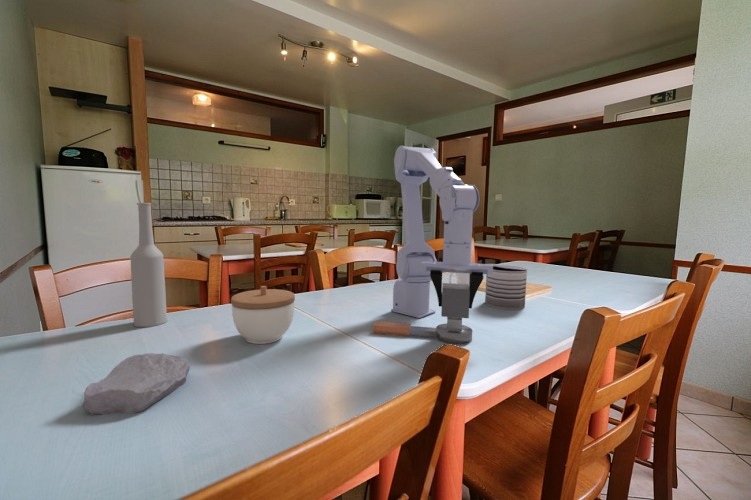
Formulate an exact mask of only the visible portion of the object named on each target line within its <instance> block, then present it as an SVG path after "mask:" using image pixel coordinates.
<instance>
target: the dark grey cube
mask: <svg viewBox="0 0 751 500" xmlns="http://www.w3.org/2000/svg"><path fill="white" fill-rule="evenodd" d="M469 299H470V288H469V285H468V284H458V283H452V282H451V283H449V282H442V307H441V313H440V314H441V317H442V318H443V317H445V318H447V317H456V318H462V319H469V318H470V316H469V315H470V308H469Z"/></svg>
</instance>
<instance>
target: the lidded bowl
mask: <svg viewBox="0 0 751 500" xmlns="http://www.w3.org/2000/svg"><path fill="white" fill-rule="evenodd" d="M295 300H296V295H295V293H294V292H292V291H290V290H285V289H277V288H273V289H272V288H267V285H261V286H260V289H253V290H246V291H242V292H238V293H236V294H234V295H232V296H231V298H230V304H231V313H232V314H231V315H232V321H233V324H234V326H235V329H236V331H237V332H238V334H239V335H240V336H242V337H243V338H244V339H245V340H246V342H247V343H250V344H254V345H266V344H271V343H275V342H278V341H280V340H281V339H282V338H283V336H284V335H285V334H286V333H287V331H288V330H289V329H290V327H291V325H292V323H293V319H294V314H295Z"/></svg>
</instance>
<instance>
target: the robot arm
mask: <svg viewBox="0 0 751 500" xmlns="http://www.w3.org/2000/svg"><path fill="white" fill-rule="evenodd" d="M394 154H395V155H394V159H393V166H394V175H395V180H396V181H397V182H398V183H400V188H401V189H400V190H401V197H402V198H401V201H402V209H403V210H402V211H403V220H404V222H403V223H404V232H405V234H404V235H405V244H404V245H403V246H402V247H401V248H400V249H399V250H398V251H397V254H396V263H395V267H396V273H397V276H398V278H397V279H396V281H395V282H394V285H393V292H392V294H393V295H392V308H391V309H390V311H391V312H394V313H397V314H401V315H406V316H410V317H413V318H418V319H421V318H424V317H426V316H429V315H431V314H434V313H436V310H435V309H433V308H432V309H430V298H431V297H430V295H431V293H430V291H431V281H432V284H433V287H434V290H435V293H436V296H437V302H438V307H441V308H442V286H443V273H453V274H454V273H455V274H456V273H470V278H469V288H470V299H469V309H473V303H474V299H475V297H476V294H477V292H478V290H479V288H480V286H481V284H482V283H483V281H484V275H486V274H487V275H493V266H492V265H490V264H491V263H476V262H475V263H474V262H471V261H472V243H473V241H472V240H473V221H474V220H473V219H474V218H473V216H474V213H475V212H476V211H477V209H478V207H479V205H480V201H481V200H480V192H479V190H478V188H477V186H476V185H475V184H465V182H463V180H462V179H461V177H458V175H457V174H456V173H454V171H453V170H454V169H453V168H452V167H451V166H443V167H442V165H441V164H440V163H439V161H438V160H437V151H436V150H435V149H434V148H433V147H427V148H426V147H417V146H406V145H405V146H404V145H400V146H398V147H397V149H396V150H395V153H394ZM428 179H429V185H430V187H431V188H432V190H433V191H434V192H435V193H436V195H437V196H438V197H439V206H440V207H439V208H440V209H441V218H442V221H444V223H443V224H444V225H443V246H442V247H443V248H442V250H443V251H442V252H443V253H442V261H438V260H437V258H436V255H435V249H434V248H433V247H431V246H430V245H429V244H427V242H426V241H425V239H426V238H425V231H424V230H425V229H424V220H423V210H422V200H421V189H420V186H421V184H423V183H425V182H427V181H428ZM466 270H467V271H466Z"/></svg>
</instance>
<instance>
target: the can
mask: <svg viewBox="0 0 751 500" xmlns="http://www.w3.org/2000/svg"><path fill="white" fill-rule="evenodd" d="M489 264H490V265H492V266H493V275H487V274H485V276H486V277H485V297H484V298H485V300H484V303H485V305H486V306H489V307H491V308H494V309H495V308H496V309H500V310H501V309H502V310H522V309H524V308H525V307H526V306H525V305H526V294H527V293H526V291H527V276H528V274H527V273H528V271H527V270H528V269H527V268H525V267H521V266H514V265H507V264H498V263H497V264H496V263H489Z"/></svg>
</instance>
